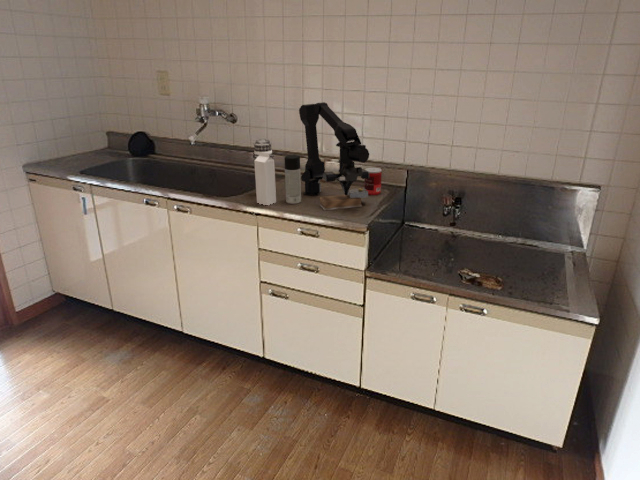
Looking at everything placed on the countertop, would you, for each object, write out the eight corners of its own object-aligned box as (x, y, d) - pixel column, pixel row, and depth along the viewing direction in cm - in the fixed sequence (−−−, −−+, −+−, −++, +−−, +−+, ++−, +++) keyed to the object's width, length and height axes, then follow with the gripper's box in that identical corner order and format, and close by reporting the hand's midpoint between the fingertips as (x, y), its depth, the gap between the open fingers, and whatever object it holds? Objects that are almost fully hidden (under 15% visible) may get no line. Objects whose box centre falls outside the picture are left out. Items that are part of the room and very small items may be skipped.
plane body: (324, 210, 191) (324, 202, 190) (319, 204, 198) (319, 197, 197) (361, 206, 196) (362, 198, 194) (355, 201, 202) (355, 193, 201)
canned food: (380, 190, 217) (381, 167, 213) (381, 195, 209) (382, 171, 205) (364, 190, 217) (364, 167, 213) (363, 195, 210) (364, 171, 206)
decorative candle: (251, 196, 211) (247, 140, 201) (262, 190, 218) (259, 137, 209) (268, 198, 207) (265, 142, 197) (279, 193, 214) (276, 138, 205)
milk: (266, 200, 205) (263, 150, 197) (276, 202, 202) (274, 152, 193) (256, 203, 201) (253, 152, 192) (267, 206, 197) (264, 154, 189)
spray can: (303, 200, 204) (302, 155, 197) (297, 204, 198) (296, 158, 191) (289, 198, 206) (287, 154, 199) (283, 203, 200) (281, 157, 193)
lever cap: (349, 198, 194) (350, 191, 193) (346, 195, 199) (346, 188, 197) (367, 197, 196) (368, 189, 195) (364, 193, 200) (364, 186, 199)
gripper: (330, 164, 180) (330, 202, 186) (375, 161, 185) (373, 198, 191) (322, 158, 190) (322, 194, 196) (365, 155, 195) (363, 191, 201)
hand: (345, 195), depth 196 cm, fingers closed
